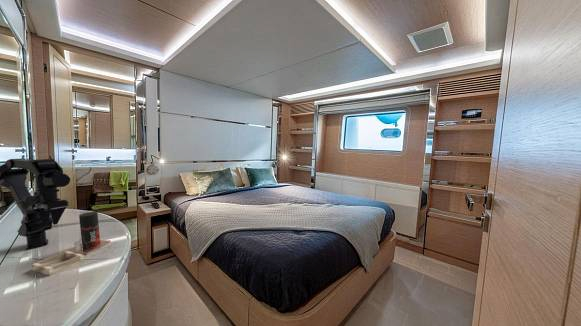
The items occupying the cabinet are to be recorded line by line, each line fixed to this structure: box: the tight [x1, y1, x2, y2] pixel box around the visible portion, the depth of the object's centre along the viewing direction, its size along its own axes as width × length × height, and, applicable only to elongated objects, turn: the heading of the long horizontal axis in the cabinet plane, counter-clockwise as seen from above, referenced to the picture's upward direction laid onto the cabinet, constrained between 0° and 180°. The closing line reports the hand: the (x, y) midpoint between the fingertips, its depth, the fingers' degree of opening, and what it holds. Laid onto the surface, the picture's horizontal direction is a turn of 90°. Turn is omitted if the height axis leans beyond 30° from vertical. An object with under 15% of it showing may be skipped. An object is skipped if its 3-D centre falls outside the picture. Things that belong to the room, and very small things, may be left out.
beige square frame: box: [31, 250, 85, 277], centre depth 82 cm, size 10×10×2 cm
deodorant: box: [78, 211, 101, 249], centre depth 94 cm, size 6×6×15 cm
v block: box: [63, 238, 111, 255], centre depth 95 cm, size 10×11×3 cm
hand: (50, 223), depth 90 cm, fingers open, 9 cm apart
